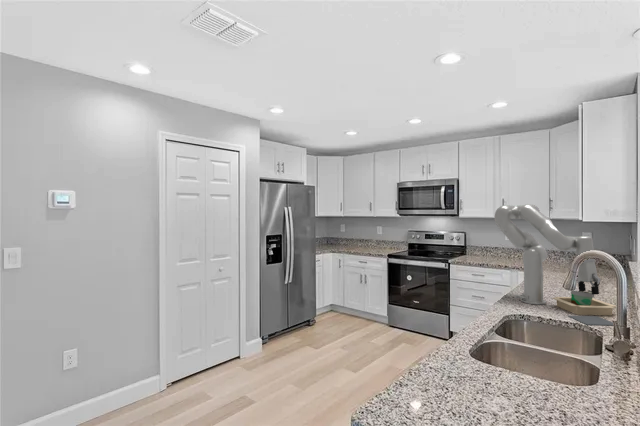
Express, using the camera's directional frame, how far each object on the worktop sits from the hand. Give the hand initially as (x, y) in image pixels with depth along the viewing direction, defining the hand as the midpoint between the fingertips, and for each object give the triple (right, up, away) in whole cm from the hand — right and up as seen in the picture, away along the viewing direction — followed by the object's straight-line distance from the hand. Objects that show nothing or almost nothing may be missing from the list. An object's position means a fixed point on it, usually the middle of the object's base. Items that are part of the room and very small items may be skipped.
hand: (588, 292), depth 185 cm
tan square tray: (-2, -10, +2) cm, 10 cm away
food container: (-2, -10, +2) cm, 10 cm away
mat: (-11, -10, -17) cm, 22 cm away
